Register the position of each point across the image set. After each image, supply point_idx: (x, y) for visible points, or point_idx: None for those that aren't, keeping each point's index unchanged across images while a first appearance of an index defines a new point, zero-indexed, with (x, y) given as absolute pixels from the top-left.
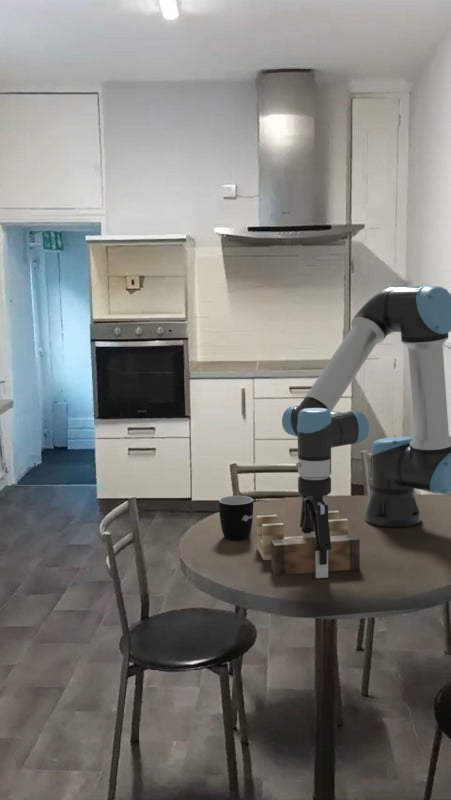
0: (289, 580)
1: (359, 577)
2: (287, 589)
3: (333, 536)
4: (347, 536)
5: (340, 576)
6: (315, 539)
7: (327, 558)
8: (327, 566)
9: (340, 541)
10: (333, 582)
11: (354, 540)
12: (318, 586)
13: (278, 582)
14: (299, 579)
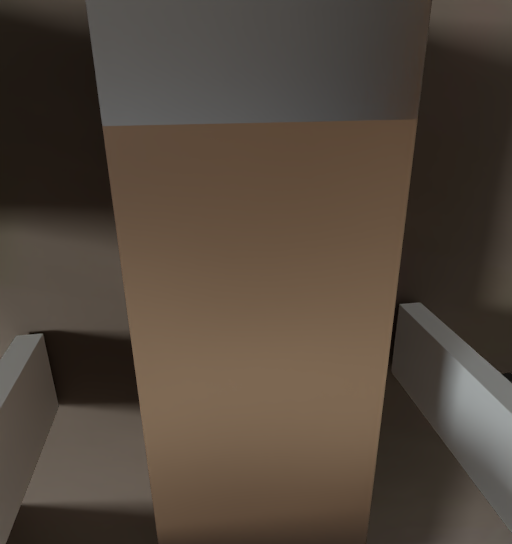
0: (376, 489)
1: (474, 76)
2: (483, 501)
3: (159, 328)
4: (192, 88)
5: (409, 213)
6: (251, 539)
7: (507, 384)
8: (462, 345)
9: (395, 267)
10: (488, 280)
11: (422, 17)
12: (509, 369)
13: (385, 532)
14: (378, 446)
